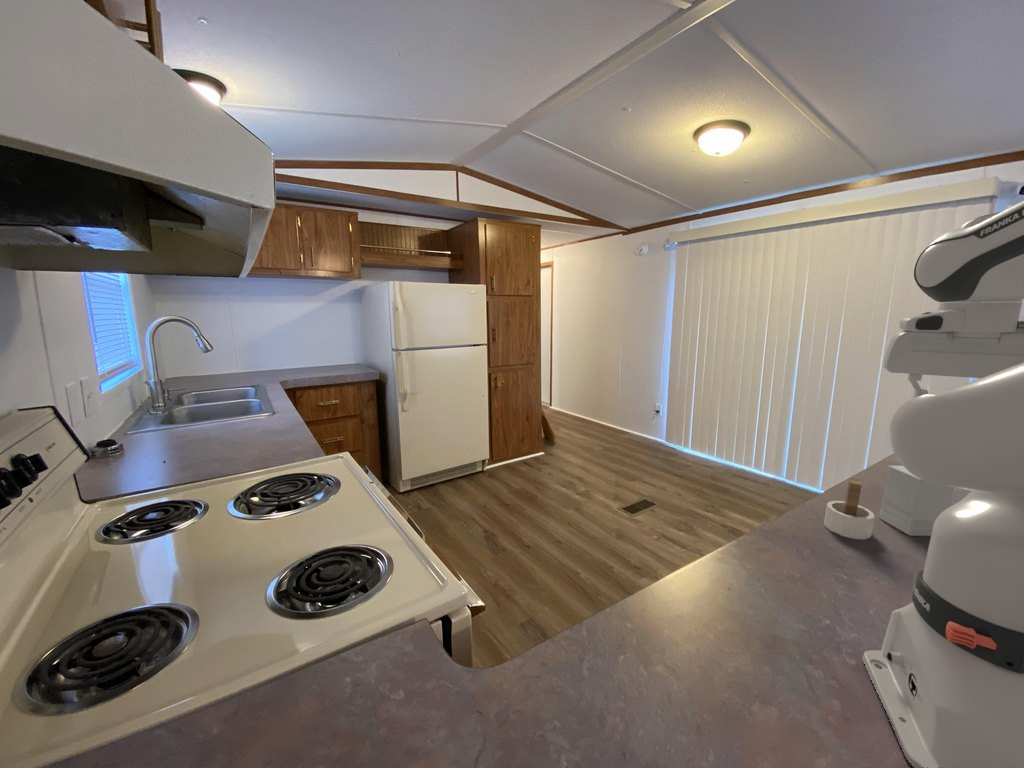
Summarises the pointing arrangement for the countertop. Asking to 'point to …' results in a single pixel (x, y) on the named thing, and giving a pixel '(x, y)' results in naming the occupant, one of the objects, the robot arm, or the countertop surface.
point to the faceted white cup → (849, 521)
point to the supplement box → (912, 502)
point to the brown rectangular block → (852, 497)
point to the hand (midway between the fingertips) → (958, 403)
